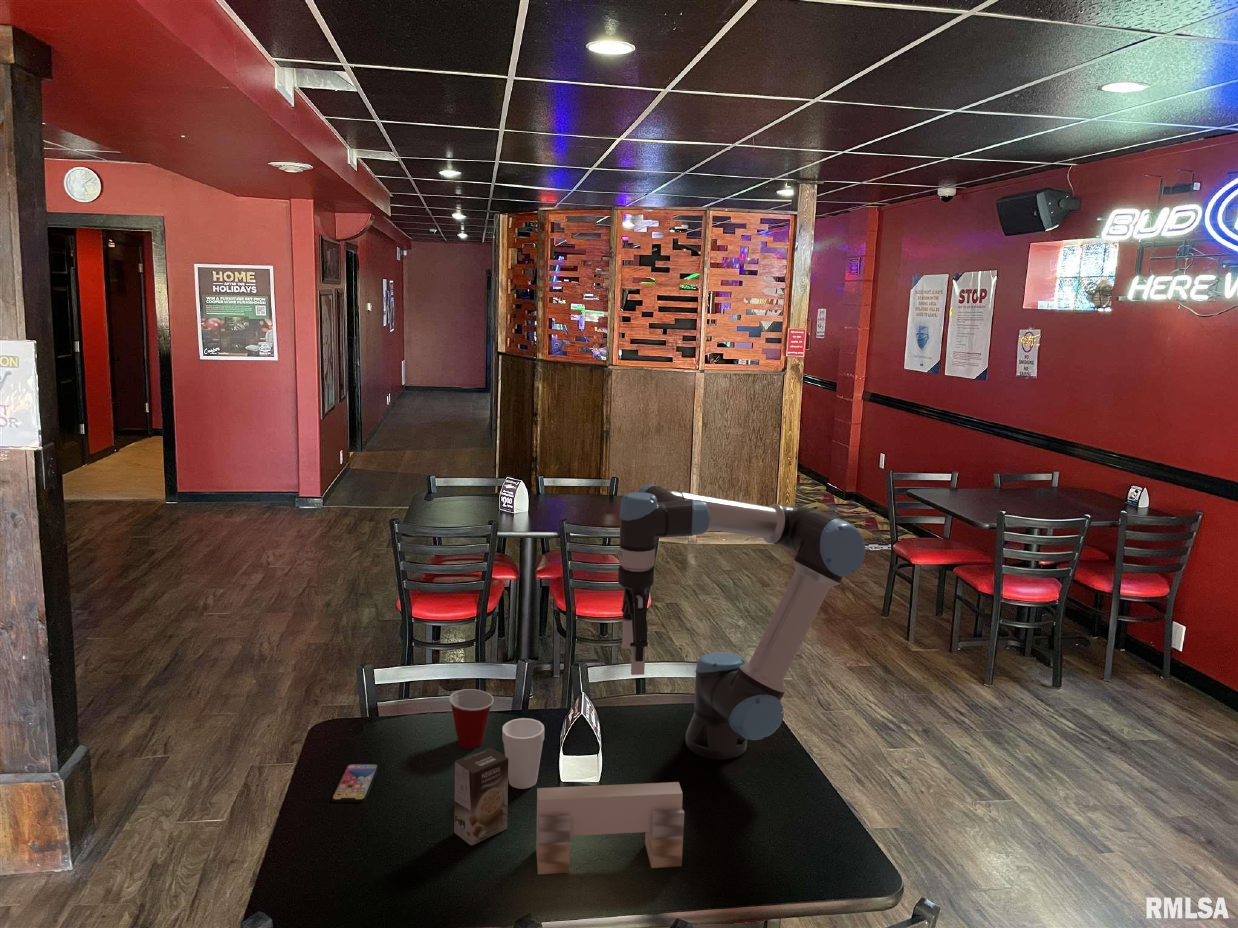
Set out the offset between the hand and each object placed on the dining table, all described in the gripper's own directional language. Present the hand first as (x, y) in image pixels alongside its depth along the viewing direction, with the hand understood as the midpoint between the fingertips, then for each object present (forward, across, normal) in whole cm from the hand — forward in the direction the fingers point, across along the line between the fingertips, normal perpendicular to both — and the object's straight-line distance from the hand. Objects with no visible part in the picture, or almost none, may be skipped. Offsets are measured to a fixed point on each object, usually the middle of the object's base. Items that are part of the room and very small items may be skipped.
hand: (632, 660), depth 192 cm
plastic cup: (+32, -25, -35) cm, 54 cm away
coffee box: (+32, +11, -32) cm, 46 cm away
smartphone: (+32, -9, -60) cm, 69 cm away
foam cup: (+32, -7, -23) cm, 40 cm away
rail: (+25, +22, -7) cm, 34 cm away
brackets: (+32, +22, -7) cm, 39 cm away
